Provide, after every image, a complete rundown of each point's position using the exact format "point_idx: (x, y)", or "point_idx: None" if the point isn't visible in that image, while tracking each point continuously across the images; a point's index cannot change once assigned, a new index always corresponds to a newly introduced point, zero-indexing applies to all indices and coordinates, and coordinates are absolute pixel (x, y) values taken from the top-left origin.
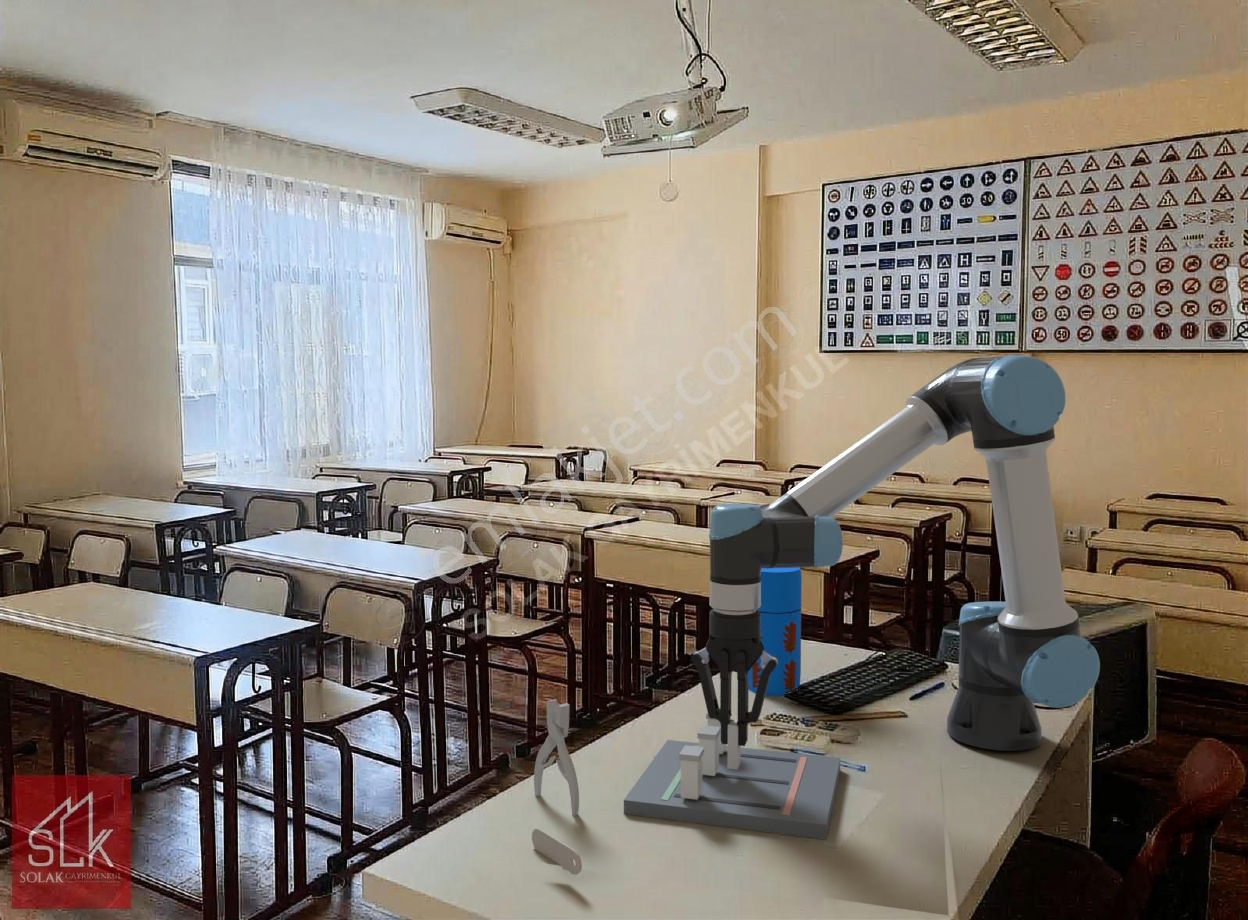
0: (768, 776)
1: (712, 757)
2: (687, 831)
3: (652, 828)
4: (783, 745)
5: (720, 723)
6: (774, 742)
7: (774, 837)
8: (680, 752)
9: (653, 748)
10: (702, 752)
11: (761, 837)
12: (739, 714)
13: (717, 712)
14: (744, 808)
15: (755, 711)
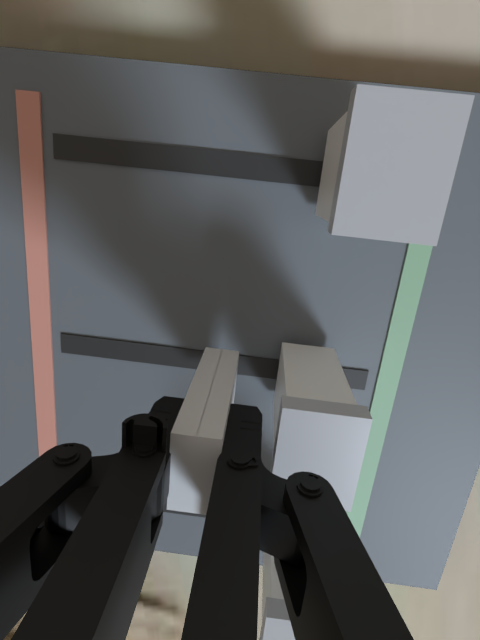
0: (125, 381)
1: (292, 368)
2: (346, 15)
3: (466, 12)
4: (136, 614)
5: (278, 587)
6: (158, 627)
7: (75, 33)
8: (465, 124)
9: (463, 574)
10: (336, 191)
11: (113, 23)
12: (143, 477)
13: (279, 507)
14: (165, 119)
15: (33, 484)
